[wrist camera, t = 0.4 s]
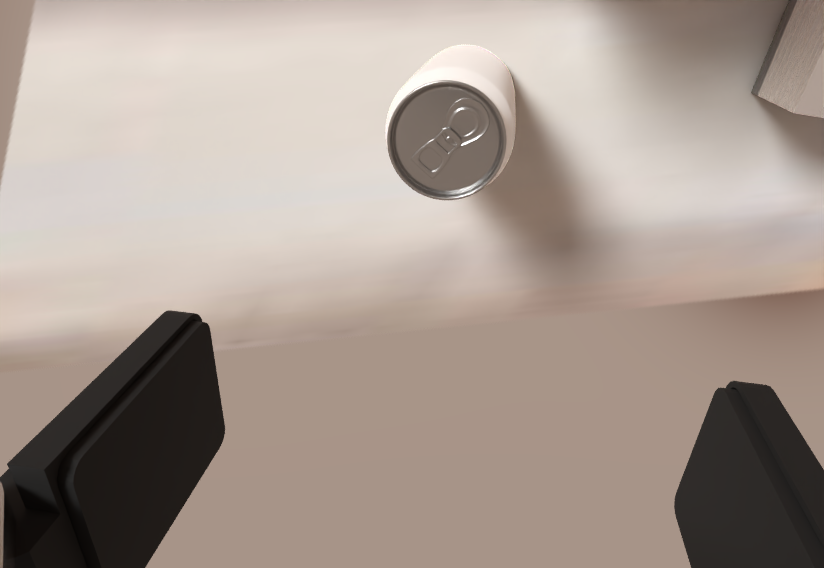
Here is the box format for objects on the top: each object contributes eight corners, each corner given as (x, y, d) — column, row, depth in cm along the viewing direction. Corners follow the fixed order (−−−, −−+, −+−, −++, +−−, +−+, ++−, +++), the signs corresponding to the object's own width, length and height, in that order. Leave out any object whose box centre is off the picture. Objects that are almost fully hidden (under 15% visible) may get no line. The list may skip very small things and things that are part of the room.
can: (536, 94, 36) (546, 141, 26) (465, 165, 39) (448, 234, 29) (463, 19, 35) (442, 37, 24) (395, 99, 38) (350, 145, 27)
